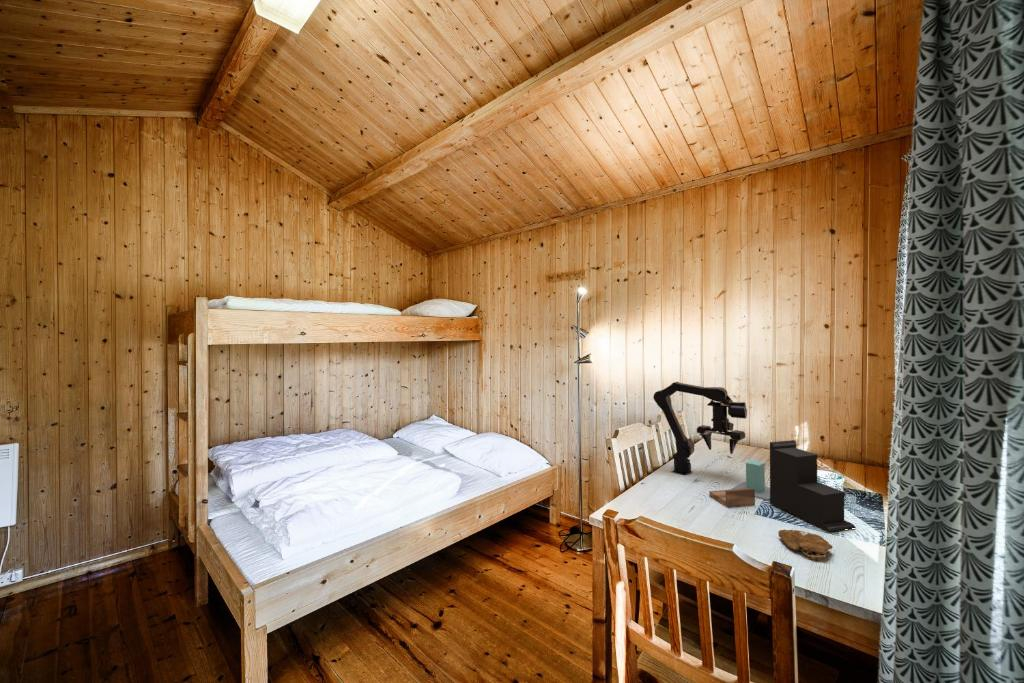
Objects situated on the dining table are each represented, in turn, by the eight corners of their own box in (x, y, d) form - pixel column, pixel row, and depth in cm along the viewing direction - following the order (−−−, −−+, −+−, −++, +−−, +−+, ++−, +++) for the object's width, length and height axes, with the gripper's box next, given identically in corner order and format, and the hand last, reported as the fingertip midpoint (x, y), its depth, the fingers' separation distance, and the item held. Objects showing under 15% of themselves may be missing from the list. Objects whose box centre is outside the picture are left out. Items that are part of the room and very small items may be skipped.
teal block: (746, 489, 167) (745, 462, 167) (751, 486, 170) (751, 460, 170) (759, 493, 163) (759, 465, 163) (764, 490, 166) (764, 462, 166)
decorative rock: (847, 564, 114) (808, 540, 129) (847, 549, 114) (809, 526, 129) (805, 563, 114) (772, 538, 129) (805, 547, 114) (772, 525, 129)
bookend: (856, 529, 132) (855, 456, 132) (828, 533, 130) (827, 459, 130) (793, 501, 155) (792, 439, 155) (769, 504, 153) (768, 441, 153)
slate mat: (729, 490, 167) (729, 489, 167) (744, 482, 176) (744, 481, 176) (768, 500, 156) (767, 499, 156) (781, 491, 165) (781, 490, 165)
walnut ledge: (709, 496, 162) (709, 481, 162) (734, 494, 163) (734, 479, 163) (728, 507, 151) (727, 491, 151) (755, 505, 153) (754, 489, 153)
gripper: (750, 416, 178) (751, 452, 178) (707, 411, 193) (708, 444, 193) (739, 420, 171) (739, 457, 172) (695, 414, 186) (696, 448, 186)
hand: (720, 451), depth 181 cm, fingers open, 9 cm apart
